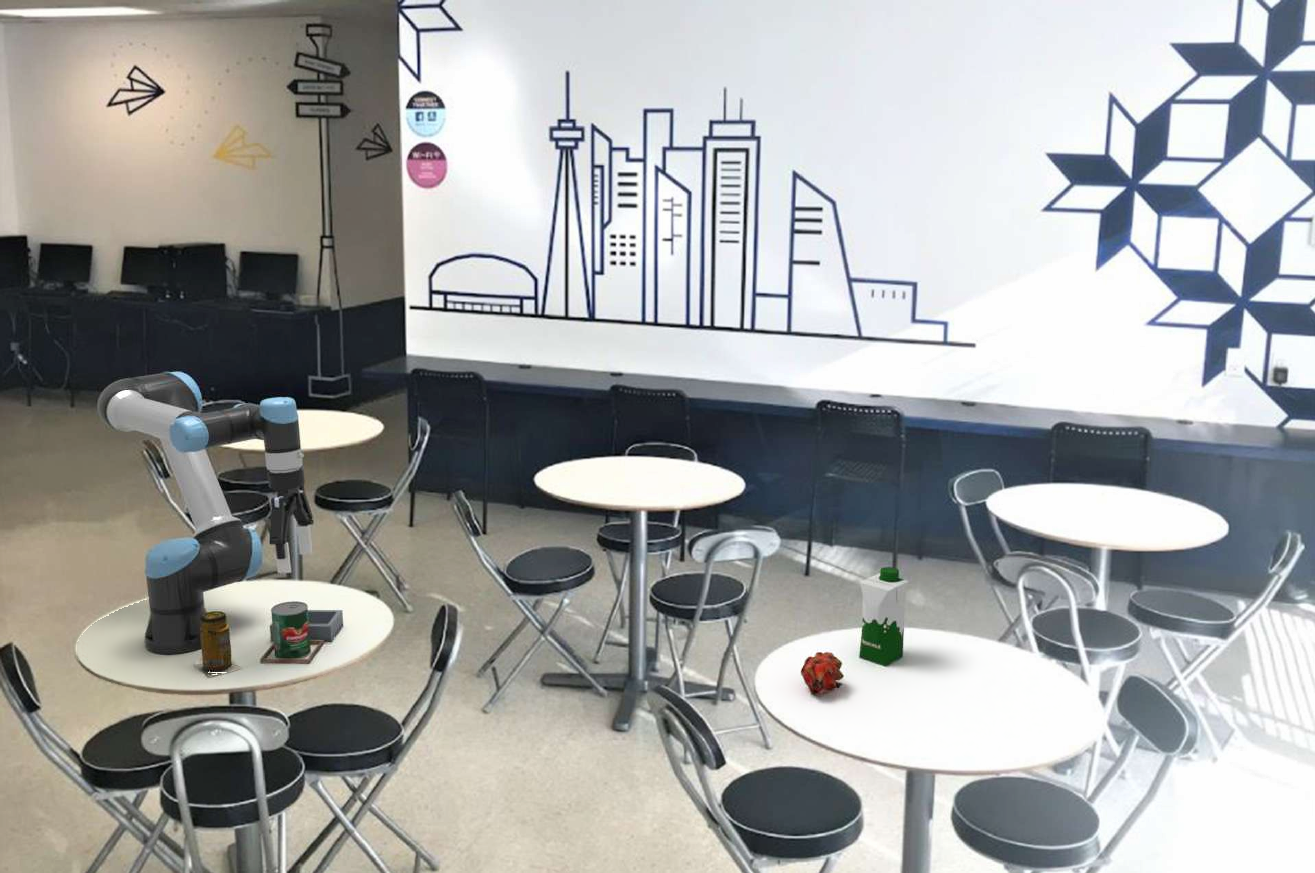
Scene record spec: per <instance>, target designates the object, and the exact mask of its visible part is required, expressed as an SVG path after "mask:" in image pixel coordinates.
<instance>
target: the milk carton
mask: <svg viewBox="0 0 1315 873" xmlns="http://www.w3.org/2000/svg"><path fill="white" fill-rule="evenodd" d="M899 570H900V569H898V568H896V567H892V566H887V567H882V568H880V572H879V573H877V574H874V575H873V576H870V577H867V578H866V579H864V580H862V581H860V588H861V593H862V595H861V596H862V612H861V613H862V614H861V636H860V645H859V654H858V655H859V656H858V658H859V659H862V660H866V661H869V662H872V663H875V664H878V665H881V666H884V667H887V666H889V665H890V664H893V663H894V662H896V661H898V660H900V659H901V658H902V657H904V635H905V634H904V633H905V616H906V615H905V613H906V598H907V592H908V587H909V585H908V584H909V580H906V579H903V578H900V571H899Z"/></svg>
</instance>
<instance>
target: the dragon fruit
mask: <svg viewBox="0 0 1315 873" xmlns="http://www.w3.org/2000/svg"><path fill="white" fill-rule="evenodd" d="M842 665H843V662H842V660H840V659H838V657H837V656H835V655H834V654H833V653H832V652H829V651H826V652H821V651H820V652H819V651H817V652H816V653H815V654H814V656H808V657H807V658H806V659H805V660H804V663H803V665H802V667H801V670H800V675H801V676H802V679H803V681H804V683H805V685H806V686H807V687H808V689H809V690H810V691H809V692H810V693H811V694H812V695H813V696H815V695H816V694H818V695H819V694H826V693H827V691H828V692H833V691H835V690H836V689H837V690H838V689H840V688H841V686H842V685H843V682H840V681H841V680H843V679H844V677H845V675H844V674H843V672H842V671H841V668H842Z"/></svg>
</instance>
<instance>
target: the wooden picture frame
mask: <svg viewBox="0 0 1315 873" xmlns="http://www.w3.org/2000/svg"><path fill="white" fill-rule="evenodd" d="M314 644H315V645H316V644H317V646H316V647H315V648H314V650H313V651H312V652H311V653H310V654H309V655H308V658H302V659H296V658H275V657H274V658H272V657H270V655H271V653H272V652H273V651H274V642H272V644H271V645H270V646H269V648H268V649H267V650H266V651H265V652H264V654H263V655H262V656H261V657H260V659H259V662H260V663H259V664H291V665H292V664H293V665H294V664H296V665H297V664H299V665H301V664H302V665H304V664H305V665H307V664H308V665H310V664H311V663H312V662H313V660H314V659H315V657H316V656H317V654H319V652H320V651H321V649H322V648H323V646H324V645H325V643H324V640H310V646H315V645H314ZM323 644H324V645H323ZM321 647H322V648H321ZM268 657H269V658H268Z"/></svg>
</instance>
